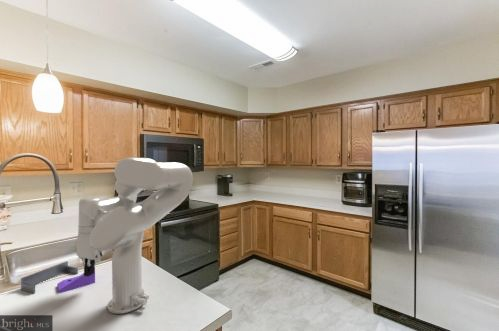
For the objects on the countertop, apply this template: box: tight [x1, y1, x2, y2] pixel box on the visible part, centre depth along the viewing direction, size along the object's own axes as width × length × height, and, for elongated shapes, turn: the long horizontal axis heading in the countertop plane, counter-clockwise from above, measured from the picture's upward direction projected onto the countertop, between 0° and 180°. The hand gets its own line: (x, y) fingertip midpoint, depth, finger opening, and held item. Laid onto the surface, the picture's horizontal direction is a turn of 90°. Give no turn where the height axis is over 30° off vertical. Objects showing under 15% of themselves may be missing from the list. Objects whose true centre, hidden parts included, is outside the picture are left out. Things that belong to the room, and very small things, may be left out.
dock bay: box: [20, 261, 79, 295], centre depth 102 cm, size 8×17×5 cm, turn 161°
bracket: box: [57, 271, 96, 294], centre depth 100 cm, size 12×7×7 cm, turn 133°
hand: (89, 274), depth 95 cm, fingers closed
